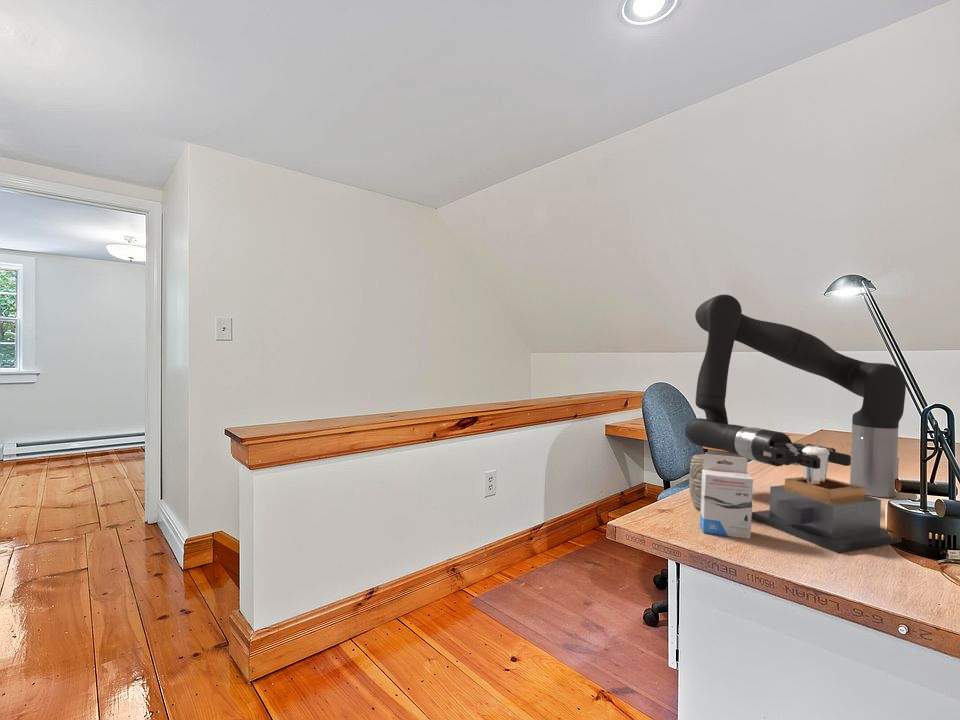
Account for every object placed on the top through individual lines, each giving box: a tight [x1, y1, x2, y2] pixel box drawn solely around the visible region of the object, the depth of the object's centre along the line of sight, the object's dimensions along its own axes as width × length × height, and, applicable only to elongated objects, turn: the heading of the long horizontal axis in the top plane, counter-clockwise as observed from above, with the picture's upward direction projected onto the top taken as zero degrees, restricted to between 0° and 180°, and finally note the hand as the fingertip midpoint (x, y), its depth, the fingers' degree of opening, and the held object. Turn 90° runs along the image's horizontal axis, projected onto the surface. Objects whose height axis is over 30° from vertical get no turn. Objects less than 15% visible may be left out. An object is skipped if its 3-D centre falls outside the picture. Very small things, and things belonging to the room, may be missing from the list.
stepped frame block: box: [751, 476, 902, 554], centre depth 97 cm, size 18×18×10 cm
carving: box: [688, 453, 723, 511], centre depth 109 cm, size 6×8×12 cm
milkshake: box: [802, 440, 830, 488], centre depth 98 cm, size 4×5×10 cm
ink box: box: [699, 453, 754, 540], centre depth 96 cm, size 8×5×15 cm, turn 72°
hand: (834, 462), depth 96 cm, fingers open, 8 cm apart
